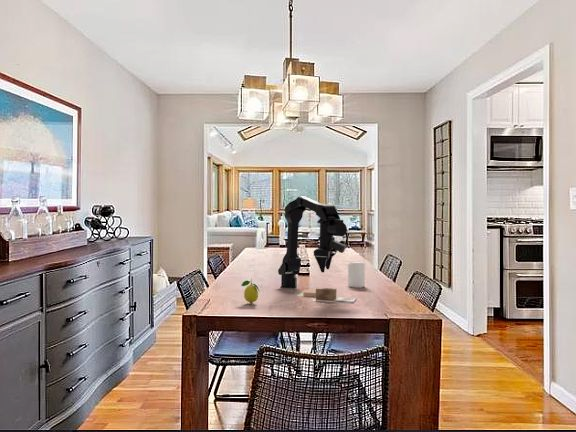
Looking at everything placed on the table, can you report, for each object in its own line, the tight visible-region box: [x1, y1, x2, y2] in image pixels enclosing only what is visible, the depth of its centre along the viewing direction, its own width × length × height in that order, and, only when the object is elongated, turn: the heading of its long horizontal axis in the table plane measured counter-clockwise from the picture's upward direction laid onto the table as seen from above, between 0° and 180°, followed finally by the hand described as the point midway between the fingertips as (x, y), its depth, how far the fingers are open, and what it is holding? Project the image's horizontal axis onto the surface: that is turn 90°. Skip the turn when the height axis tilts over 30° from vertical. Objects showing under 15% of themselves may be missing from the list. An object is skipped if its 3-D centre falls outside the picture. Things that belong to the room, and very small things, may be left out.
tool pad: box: [312, 297, 345, 304], centre depth 213 cm, size 16×8×1 cm, turn 73°
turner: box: [315, 287, 357, 304], centre depth 213 cm, size 16×7×4 cm, turn 73°
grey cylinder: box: [347, 260, 366, 289], centre depth 250 cm, size 8×8×12 cm
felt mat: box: [296, 290, 313, 298], centre depth 225 cm, size 14×12×1 cm
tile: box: [302, 288, 316, 298], centre depth 224 cm, size 8×2×8 cm
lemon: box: [241, 278, 261, 305], centre depth 206 cm, size 7×6×10 cm
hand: (325, 270), depth 221 cm, fingers open, 9 cm apart
